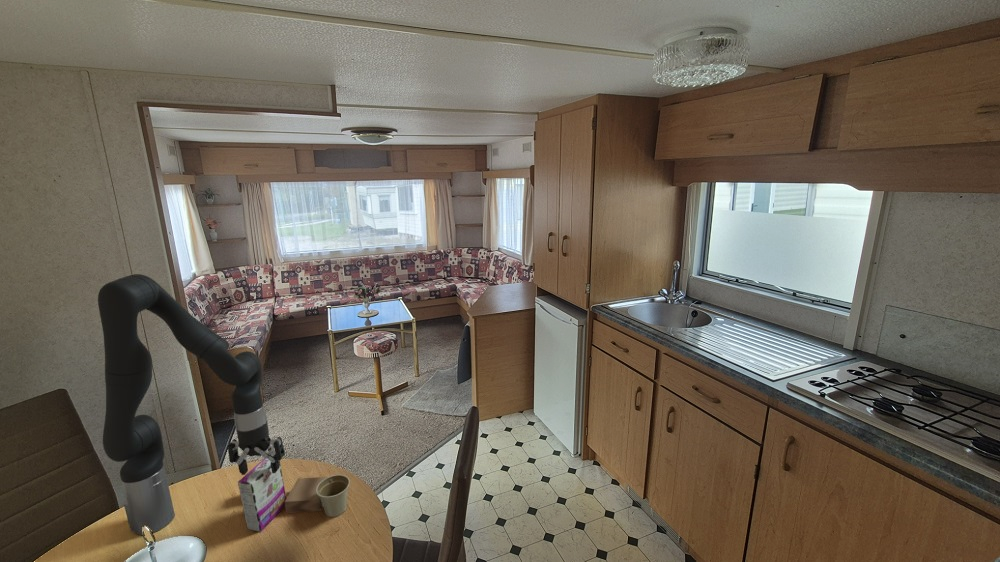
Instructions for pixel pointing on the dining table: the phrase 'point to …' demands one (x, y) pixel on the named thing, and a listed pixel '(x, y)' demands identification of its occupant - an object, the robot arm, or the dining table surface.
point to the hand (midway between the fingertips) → (260, 472)
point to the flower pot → (334, 494)
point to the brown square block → (304, 496)
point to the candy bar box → (262, 495)
